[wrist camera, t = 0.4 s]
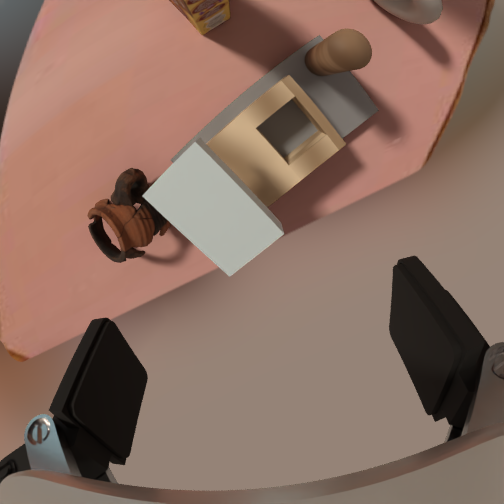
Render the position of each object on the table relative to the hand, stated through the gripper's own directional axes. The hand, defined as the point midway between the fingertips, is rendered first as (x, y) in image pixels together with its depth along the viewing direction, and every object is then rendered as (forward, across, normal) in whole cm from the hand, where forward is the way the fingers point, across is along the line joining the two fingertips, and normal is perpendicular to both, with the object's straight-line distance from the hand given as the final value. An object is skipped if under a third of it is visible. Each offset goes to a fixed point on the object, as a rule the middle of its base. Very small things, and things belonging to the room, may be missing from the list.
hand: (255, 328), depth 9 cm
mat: (+28, -4, -2) cm, 29 cm away
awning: (+27, +3, +1) cm, 27 cm away
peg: (+27, -10, -9) cm, 30 cm away
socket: (+27, -2, -1) cm, 27 cm away
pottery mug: (+29, +15, +2) cm, 32 cm away
